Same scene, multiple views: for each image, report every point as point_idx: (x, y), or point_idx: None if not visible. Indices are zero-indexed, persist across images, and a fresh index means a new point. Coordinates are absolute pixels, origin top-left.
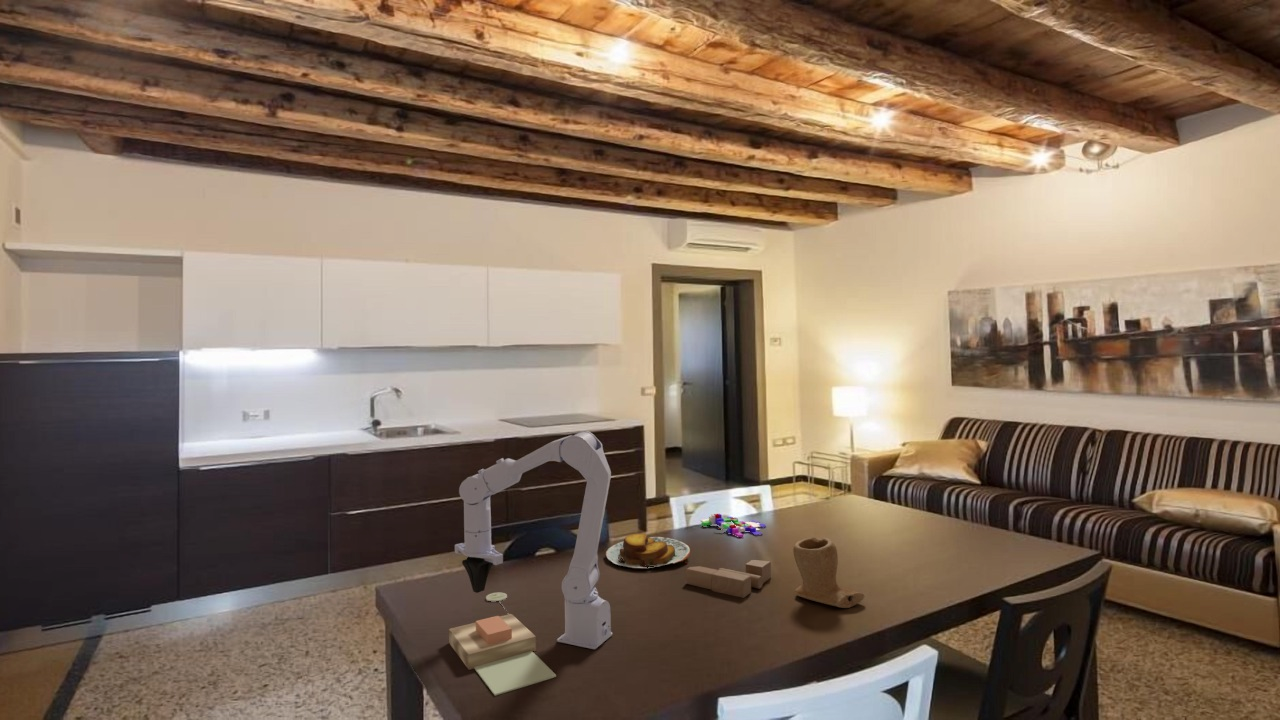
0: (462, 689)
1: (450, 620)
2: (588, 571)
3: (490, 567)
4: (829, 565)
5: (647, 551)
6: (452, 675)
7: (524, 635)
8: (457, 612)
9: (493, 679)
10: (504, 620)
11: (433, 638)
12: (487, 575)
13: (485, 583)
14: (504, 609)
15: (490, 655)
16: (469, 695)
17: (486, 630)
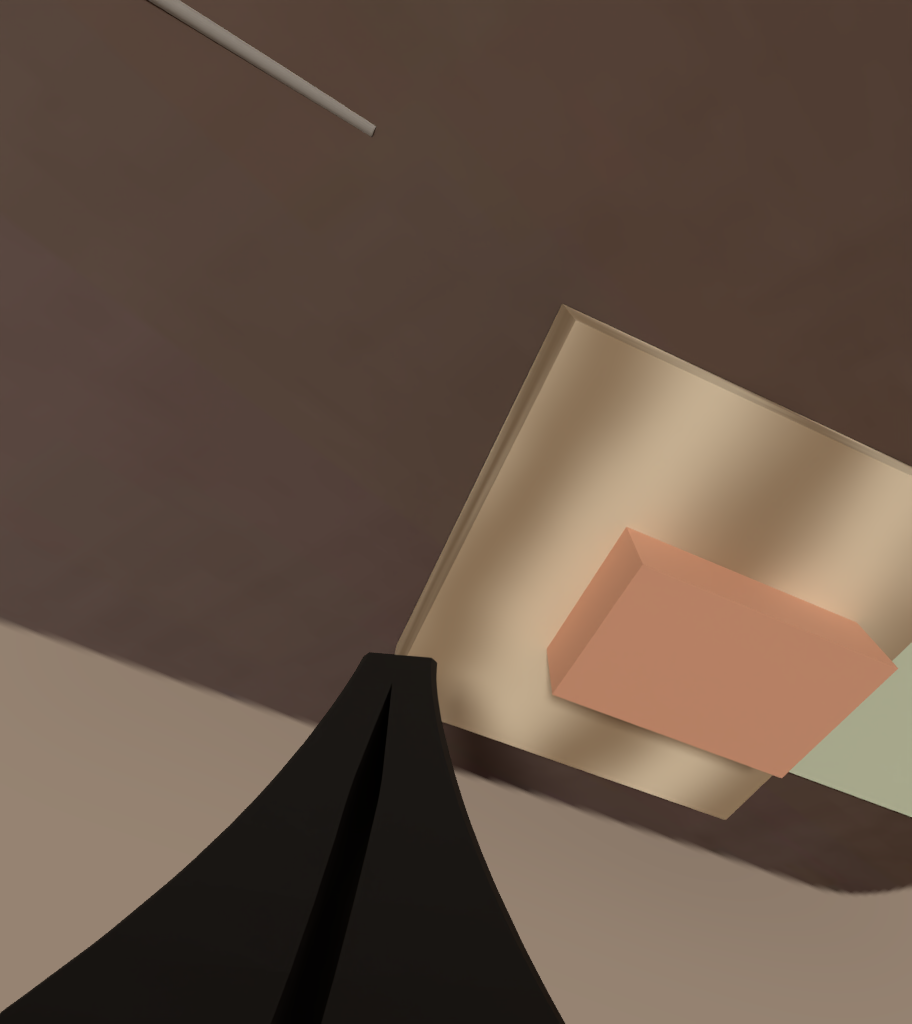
0: (780, 838)
1: (114, 456)
2: None
3: (517, 947)
4: None
5: None
6: (664, 799)
7: None
8: (6, 339)
9: (879, 775)
10: (616, 452)
11: (280, 646)
12: (462, 805)
13: (438, 711)
14: (222, 42)
15: None
16: (835, 850)
17: (731, 748)
